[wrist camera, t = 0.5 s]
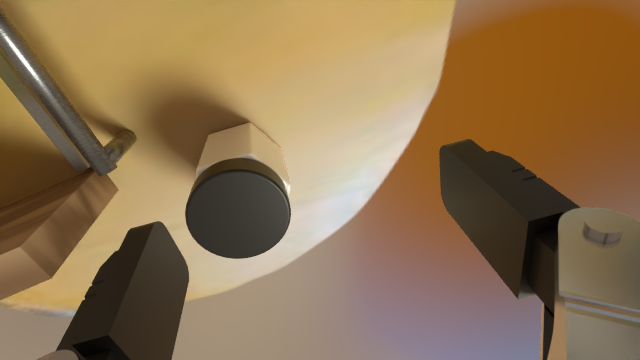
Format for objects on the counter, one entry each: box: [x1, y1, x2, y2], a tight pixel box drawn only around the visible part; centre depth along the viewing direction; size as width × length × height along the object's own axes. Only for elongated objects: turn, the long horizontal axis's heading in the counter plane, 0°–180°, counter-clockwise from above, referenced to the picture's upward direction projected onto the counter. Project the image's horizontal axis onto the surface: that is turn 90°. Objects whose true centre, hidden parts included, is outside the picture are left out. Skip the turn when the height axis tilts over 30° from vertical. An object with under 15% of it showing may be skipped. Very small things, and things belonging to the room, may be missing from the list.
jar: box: [185, 123, 291, 259], centre depth 33 cm, size 9×8×12 cm
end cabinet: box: [0, 169, 118, 300], centre depth 30 cm, size 4×14×14 cm, turn 111°
